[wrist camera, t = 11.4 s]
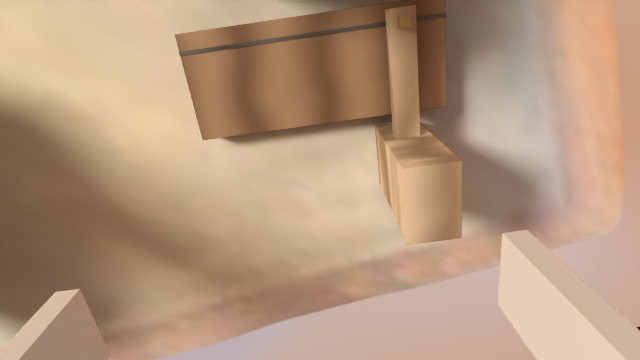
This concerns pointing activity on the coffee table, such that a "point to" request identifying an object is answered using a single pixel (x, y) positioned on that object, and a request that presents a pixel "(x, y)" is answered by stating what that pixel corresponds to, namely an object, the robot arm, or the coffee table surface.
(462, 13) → the coffee table surface
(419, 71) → the walnut board
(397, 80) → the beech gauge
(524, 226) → the coffee table surface
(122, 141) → the coffee table surface
